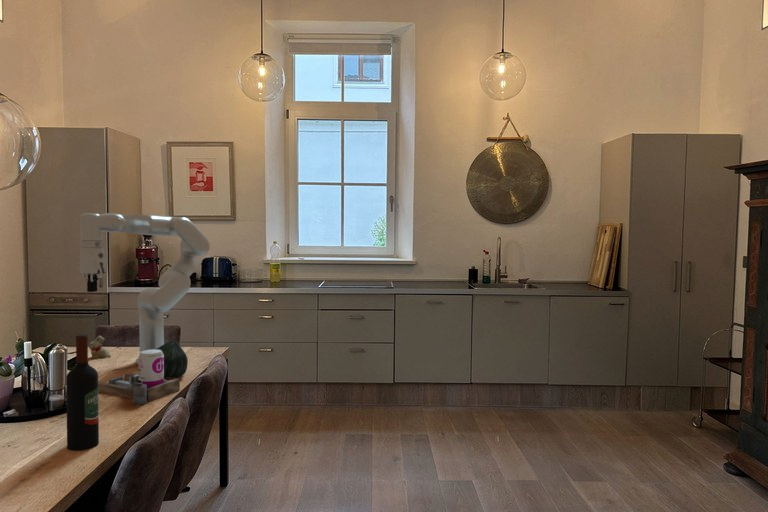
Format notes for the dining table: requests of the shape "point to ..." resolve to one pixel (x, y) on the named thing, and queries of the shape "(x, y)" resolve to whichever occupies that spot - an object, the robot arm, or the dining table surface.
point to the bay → (140, 389)
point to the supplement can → (151, 367)
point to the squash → (174, 360)
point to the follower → (120, 381)
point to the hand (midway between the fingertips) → (92, 291)
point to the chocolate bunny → (98, 348)
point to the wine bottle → (82, 401)
